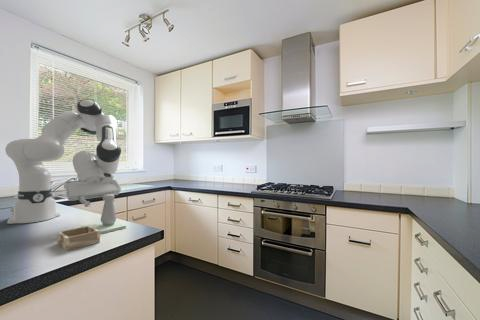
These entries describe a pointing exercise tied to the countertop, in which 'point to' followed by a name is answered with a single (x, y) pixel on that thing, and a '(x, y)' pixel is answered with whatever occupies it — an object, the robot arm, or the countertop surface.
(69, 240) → the wooden box
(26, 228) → the countertop surface
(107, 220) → the salt shaker
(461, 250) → the countertop surface
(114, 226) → the sage mat
